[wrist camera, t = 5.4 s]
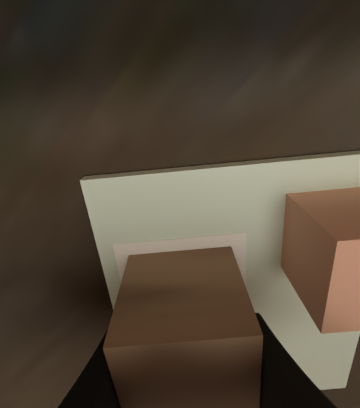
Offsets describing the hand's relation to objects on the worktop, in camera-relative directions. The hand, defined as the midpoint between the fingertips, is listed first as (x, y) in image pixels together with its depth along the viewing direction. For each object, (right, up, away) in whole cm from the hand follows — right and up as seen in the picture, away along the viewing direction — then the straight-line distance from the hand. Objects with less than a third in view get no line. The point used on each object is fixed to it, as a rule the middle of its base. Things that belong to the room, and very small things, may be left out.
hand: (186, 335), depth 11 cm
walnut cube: (0, +1, +2) cm, 3 cm away
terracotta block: (+7, +4, +1) cm, 8 cm away
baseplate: (+3, 0, +4) cm, 5 cm away
